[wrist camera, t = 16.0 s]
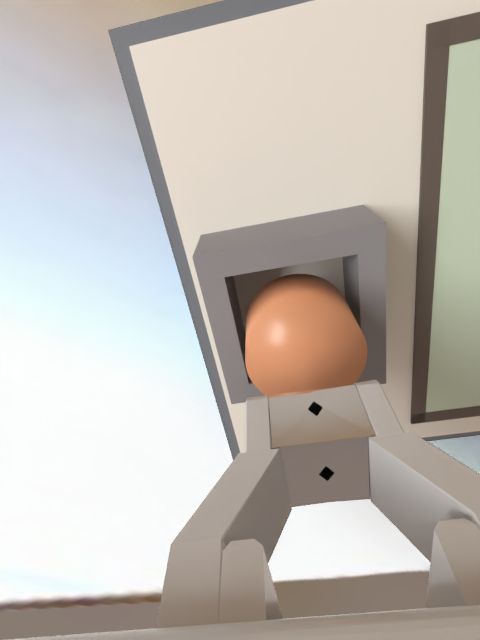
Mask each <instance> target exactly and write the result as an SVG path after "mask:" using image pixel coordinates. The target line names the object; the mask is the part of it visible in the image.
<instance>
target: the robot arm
mask: <svg viewBox="0 0 480 640" xmlns="http://www.w3.org/2000/svg"><path fill="white" fill-rule="evenodd" d="M360 499H371V501H372V502H373V504H374V505H375V506H376V507H377V508H378V509H379V510H380V511H381V512H382V513H383V514H384V515H385V516H386V517H387V518H388V519H389V520H390V521H391V522H392V523H393V524H394V525H395V526H396V527H397V528H398V529H399V530H400V531H401V532H402V533H403V534H404V535H405V536H406V537H407V538H408V539H409V540H410V542H411V543H412V544H413V545H414V546H415V547H416V548H417V549H418V550H419V551H420V552H421V553H422V554H423V555H424V556H425V557H426V558H427V559H428V560H429V561H430V562H431V564H430V574H429V583H428V593H427V603H426V607H427V608H426V609H412V610H398V611H385V612H371V613H358V614H345V615H331V616H317V617H303V618H291V619H283V618H282V614H281V610H280V606H279V602H278V599H277V595H276V592H275V588H274V584H273V581H272V577H271V573H270V570H269V566H268V562H269V560H270V558H271V555H272V553H273V551H274V548H275V546H276V544H277V542H278V539H279V537H280V535H281V533H282V530H283V528H284V526H285V523H286V521H287V519H288V517H289V514H290V512H291V510H292V509H291V507H295V506H303V505H310V504H318V503H325V502H335V501H348V500H360ZM6 640H480V474H478V473H477V472H475V471H473V470H472V469H470V468H469V467H467V466H465V465H464V464H462V463H461V462H459V461H457V460H456V459H454V458H453V457H451V456H449V455H448V454H446V453H445V452H443V451H441V450H440V449H438V448H437V447H435V446H433V445H432V444H430V443H429V442H427V441H425V440H424V439H422V438H421V437H419V436H417V435H416V434H414V433H413V432H408V433H404V431H403V429H402V427H401V425H400V423H399V421H398V419H397V417H396V415H395V413H394V411H393V409H392V407H391V405H390V403H389V401H388V399H387V397H386V395H385V393H384V391H383V389H382V387H381V385H380V383H379V382H378V381H377V380H371V381H365V382H359V383H354V384H349V385H342V386H335V387H328V388H321V389H314V390H306V391H297V392H288V393H280V394H271V395H269V396H268V395H265V396H257V397H248V398H247V400H246V435H245V453H239V454H238V455H237V456H236V458H235V459H234V460H233V462H232V463H231V465H230V466H229V467H228V469H227V470H226V471H225V473H224V474H223V475H222V477H221V478H220V479H219V481H218V482H217V483H216V485H215V486H214V487H213V489H212V490H211V491H210V493H209V494H208V495H207V497H206V498H205V499H204V501H203V502H202V503H201V505H200V506H199V508H198V509H197V510H196V512H195V513H194V514H193V516H192V517H191V518H190V520H189V521H188V522H187V524H186V525H185V526H184V528H183V529H182V530H181V532H180V533H179V534H178V536H177V537H176V538H175V540H174V541H173V542H172V544H171V548H170V553H169V559H168V564H167V570H166V575H165V581H164V586H163V592H162V597H161V603H160V609H159V614H158V620H157V625H156V628H155V629H141V630H127V631H114V632H101V633H87V634H75V635H74V634H73V635H60V636H47V637H34V638H19V639H6Z"/></svg>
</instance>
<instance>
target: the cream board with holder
mask: <svg viewBox="0 0 480 640" xmlns="http://www.w3.org/2000/svg"><path fill="white" fill-rule="evenodd" d="M108 31H109V35H110V38H111V42H112V45H113V49H114V52H115V56H116V59H117V62H118V66H119V69H120V73H121V76H122V80H123V83H124V86H125V90H126V93H127V97H128V100H129V104H130V107H131V110H132V114H133V117H134V121H135V124H136V128H137V131H138V134H139V138H140V141H141V145H142V148H143V152H144V155H145V159H146V162H147V165H148V169H149V172H150V176H151V179H152V183H153V186H154V189H155V193H156V196H157V200H158V203H159V207H160V210H161V213H162V217H163V220H164V224H165V227H166V231H167V234H168V237H169V241H170V244H171V248H172V251H173V255H174V258H175V262H176V265H177V268H178V272H179V275H180V279H181V282H182V286H183V289H184V292H185V296H186V299H187V303H188V306H189V310H190V313H191V316H192V320H193V323H194V327H195V330H196V334H197V337H198V340H199V344H200V347H201V351H202V354H203V358H204V361H205V365H206V368H207V371H208V375H209V378H210V382H211V385H212V389H213V392H214V395H215V399H216V402H217V406H218V409H219V413H220V416H221V419H222V423H223V426H224V430H225V433H226V437H227V440H228V443H229V447H230V450H231V454H232V457H233V460H234V459H235V458H236V456H237V455H238V454H239V453H245V435H246V400H247V398H248V397H257V396H265V395H264V394H263V393H262V392H260V391H259V390H258V389H257V388H256V387H255V385H254V384H253V383H252V381H251V379H250V377H249V375H248V373H247V369H246V364H245V344H246V314H247V310H248V307H249V304H250V302H251V300H252V299H253V297H254V296H255V295H256V293H257V292H258V291H259V290H260V289H261V288H262V287H264V286H265V285H266V284H268V283H269V282H271V281H273V280H275V279H277V278H280V277H282V276H286V275H290V274H310V275H315V276H318V277H321V278H323V279H325V280H327V281H329V282H331V283H332V284H333V285H334V286H336V287H337V288H338V290H339V291H340V292H341V293H342V295H343V296H344V298H345V300H346V302H347V304H348V306H349V308H350V310H351V312H352V314H353V315H354V317H355V319H356V321H357V323H358V325H359V327H360V329H361V331H362V333H363V335H364V337H365V340H366V343H367V351H368V352H367V361H366V365H365V368H364V370H363V372H362V374H361V376H360V377H359V379H358V380H357V382H356V383H359V382H365V381H371V380H377V381H378V382H379V383H380V385H381V387H382V389H383V391H384V393H385V395H386V397H387V399H388V401H389V403H390V405H391V407H392V409H393V411H394V413H395V415H396V417H397V419H398V421H399V423H400V425H401V427H402V429H403V431H404V433H408V432H413V433H414V434H416V435H417V436H419V437H421V438H422V439H424V440H425V441H432V440H441V439H449V438H458V437H467V436H475V435H480V0H224V1H220V2H216V3H212V4H208V5H204V6H200V7H197V8H193V9H189V10H185V11H181V12H177V13H173V14H169V15H165V16H161V17H157V18H154V19H150V20H146V21H142V22H138V23H134V24H130V25H126V26H122V27H118V28H114V29H111V30H108Z"/></svg>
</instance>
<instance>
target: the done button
mask: <svg viewBox="0 0 480 640" xmlns="http://www.w3.org/2000/svg"><path fill="white" fill-rule="evenodd" d="M367 352H368V351H367V343H366V340H365V337H364V335H363V333H362V331H361V329H360V327H359V325H358V323H357V321H356V319H355V317H354V315H353V314H352V312H351V310H350V308H349V306H348V304H347V302H346V300H345V298H344V296H343V295H342V293H341V292H340V291H339V290H338V288H337V287H336V286H334V285H333V284H332V283H331V282H329V281H327V280H325V279H323V278H321V277H318V276H315V275H310V274H290V275H286V276H282V277H280V278H277V279H275V280H273V281H271V282H269V283H268V284H266V285H265V286H264V287H262V288H261V289H260V290H259V291H258V292H257V293H256V295H255V296H254V297H253V299H252V300H251V302H250V304H249V307H248V310H247V314H246V344H245V364H246V369H247V373H248V375H249V377H250V379H251V381H252V383H253V384H254V385H255V387H256V388H257V389H258V390H259V391H260V392H262V393H263V394H264V395H268V396H269V395H271V394H280V393H288V392H297V391H306V390H314V389H321V388H328V387H335V386H342V385H349V384H354V383H356V382H357V380H358V379H359V377H360V376H361V374H362V372H363V370H364V368H365V365H366V361H367Z"/></svg>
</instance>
